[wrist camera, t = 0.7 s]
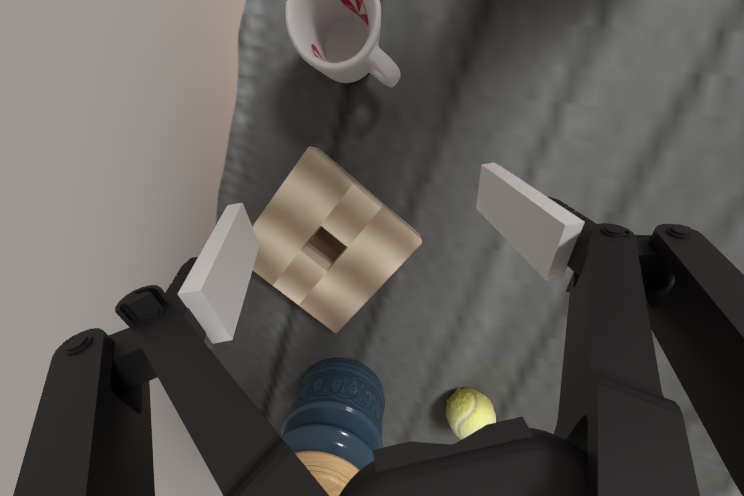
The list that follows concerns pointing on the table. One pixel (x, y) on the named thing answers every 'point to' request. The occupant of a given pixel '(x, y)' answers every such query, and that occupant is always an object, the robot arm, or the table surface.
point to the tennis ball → (468, 412)
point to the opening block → (329, 240)
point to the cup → (340, 38)
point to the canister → (336, 421)
